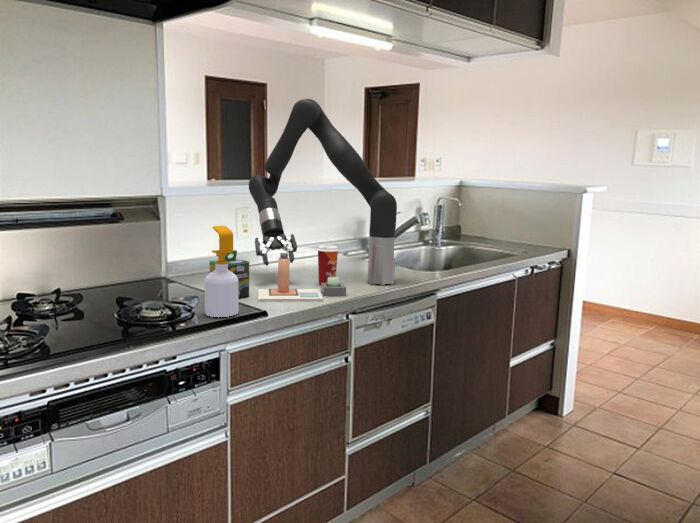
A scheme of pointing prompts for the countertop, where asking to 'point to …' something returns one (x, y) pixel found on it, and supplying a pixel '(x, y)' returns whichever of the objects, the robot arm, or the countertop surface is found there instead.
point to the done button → (333, 281)
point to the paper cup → (327, 262)
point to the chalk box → (237, 272)
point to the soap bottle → (222, 280)
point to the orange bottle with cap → (283, 273)
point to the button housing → (333, 290)
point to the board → (290, 295)
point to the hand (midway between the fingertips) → (279, 263)
